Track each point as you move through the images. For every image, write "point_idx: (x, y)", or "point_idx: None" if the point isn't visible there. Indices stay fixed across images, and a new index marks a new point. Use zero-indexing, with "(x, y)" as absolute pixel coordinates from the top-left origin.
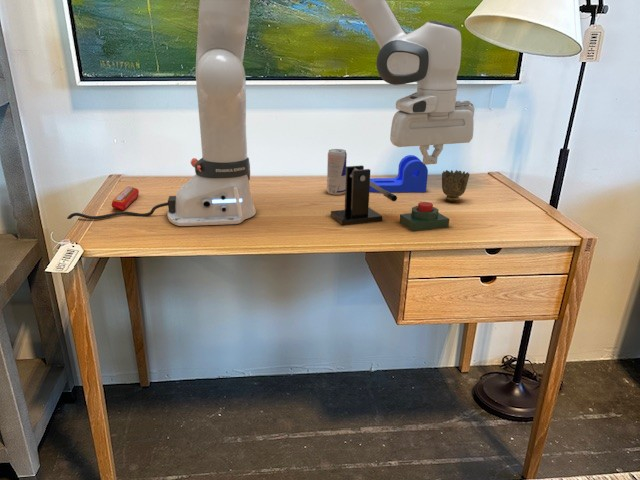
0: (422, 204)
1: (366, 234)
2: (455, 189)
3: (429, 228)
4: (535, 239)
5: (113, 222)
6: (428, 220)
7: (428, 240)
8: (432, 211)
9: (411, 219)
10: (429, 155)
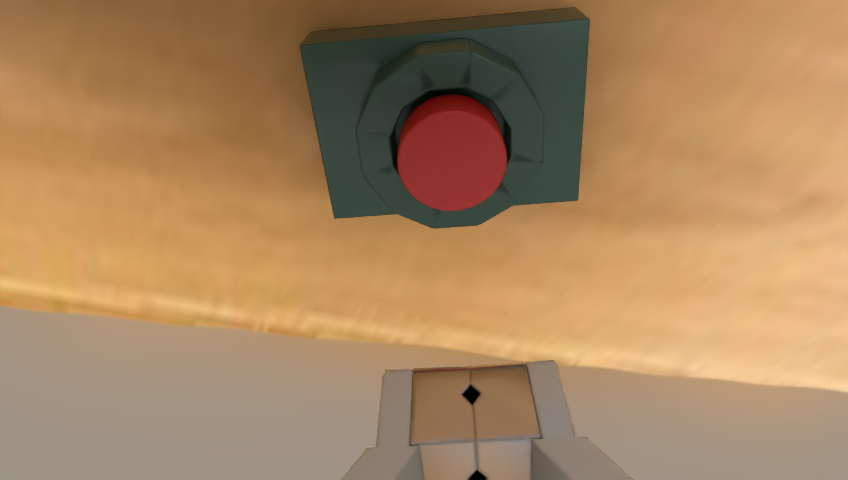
0: (423, 170)
1: (81, 180)
2: None
3: None
4: (827, 382)
5: None
6: None
7: (375, 308)
8: None
9: (344, 164)
10: (487, 448)
